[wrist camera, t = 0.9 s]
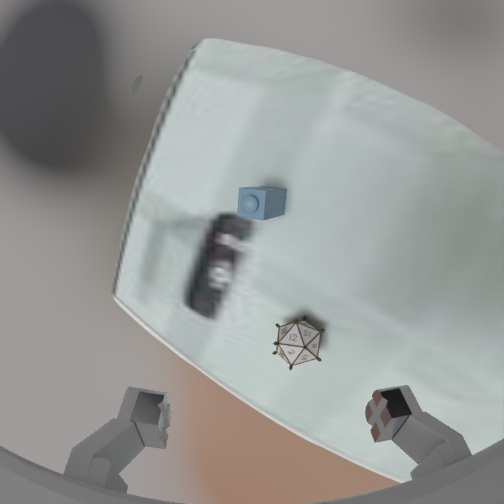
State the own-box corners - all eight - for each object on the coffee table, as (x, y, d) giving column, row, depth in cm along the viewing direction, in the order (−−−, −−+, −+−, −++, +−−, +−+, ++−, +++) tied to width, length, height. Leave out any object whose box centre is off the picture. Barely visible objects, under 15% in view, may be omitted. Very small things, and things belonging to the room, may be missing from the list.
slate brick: (286, 189, 46) (263, 191, 38) (283, 214, 47) (260, 221, 39) (263, 186, 47) (236, 187, 40) (261, 210, 49) (234, 216, 41)
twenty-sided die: (315, 331, 53) (302, 382, 47) (273, 315, 53) (256, 366, 47) (339, 315, 46) (327, 374, 40) (292, 296, 45) (274, 356, 39)
